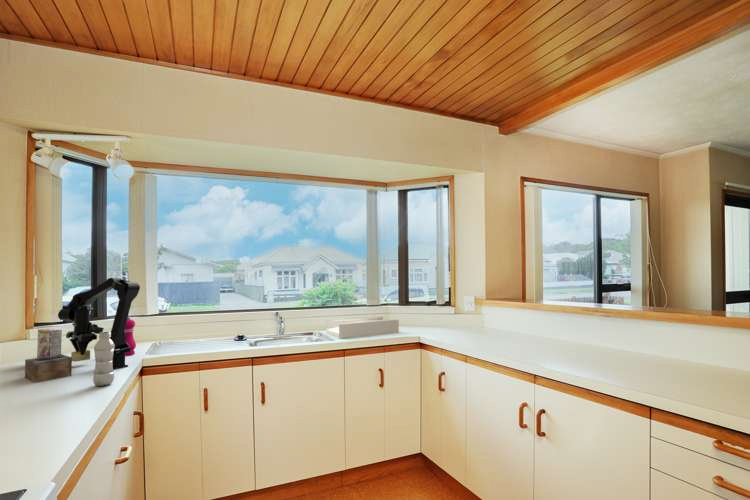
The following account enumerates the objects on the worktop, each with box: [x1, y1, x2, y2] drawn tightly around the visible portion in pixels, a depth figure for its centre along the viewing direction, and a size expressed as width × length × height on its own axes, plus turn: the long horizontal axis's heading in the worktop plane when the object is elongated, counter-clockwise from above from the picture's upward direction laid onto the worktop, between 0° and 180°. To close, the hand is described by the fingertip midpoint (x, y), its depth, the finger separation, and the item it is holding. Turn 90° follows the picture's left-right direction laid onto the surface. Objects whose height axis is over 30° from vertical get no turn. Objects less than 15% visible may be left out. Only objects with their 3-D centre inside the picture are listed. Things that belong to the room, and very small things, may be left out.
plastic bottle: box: [92, 331, 115, 387], centre depth 147 cm, size 6×7×20 cm
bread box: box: [325, 316, 400, 339], centre depth 265 cm, size 45×22×10 cm, turn 119°
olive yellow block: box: [70, 349, 91, 363], centre depth 178 cm, size 6×4×4 cm, turn 146°
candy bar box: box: [36, 327, 63, 358], centre depth 182 cm, size 11×5×16 cm, turn 65°
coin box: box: [24, 353, 73, 384], centre depth 159 cm, size 12×12×8 cm
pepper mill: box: [124, 316, 137, 357], centre depth 201 cm, size 7×7×20 cm
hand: (80, 354), depth 178 cm, fingers closed on olive yellow block, 4 cm apart
